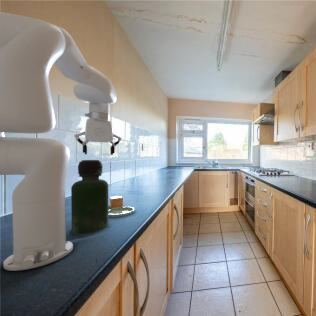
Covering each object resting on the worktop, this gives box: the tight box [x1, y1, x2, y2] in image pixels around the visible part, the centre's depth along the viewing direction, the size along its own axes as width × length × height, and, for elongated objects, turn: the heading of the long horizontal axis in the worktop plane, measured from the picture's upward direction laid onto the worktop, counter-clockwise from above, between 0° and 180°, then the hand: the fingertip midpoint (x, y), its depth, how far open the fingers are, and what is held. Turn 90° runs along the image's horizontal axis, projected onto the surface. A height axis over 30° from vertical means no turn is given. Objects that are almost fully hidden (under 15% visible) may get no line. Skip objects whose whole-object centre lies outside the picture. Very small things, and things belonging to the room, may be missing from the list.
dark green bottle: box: [70, 159, 109, 235], centre depth 66 cm, size 10×10×25 cm
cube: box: [109, 195, 124, 209], centre depth 92 cm, size 5×5×5 cm
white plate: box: [108, 206, 135, 218], centre depth 83 cm, size 11×11×2 cm
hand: (99, 154), depth 85 cm, fingers open, 9 cm apart
